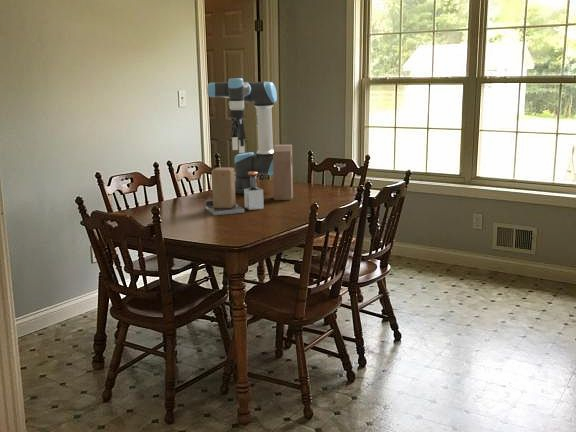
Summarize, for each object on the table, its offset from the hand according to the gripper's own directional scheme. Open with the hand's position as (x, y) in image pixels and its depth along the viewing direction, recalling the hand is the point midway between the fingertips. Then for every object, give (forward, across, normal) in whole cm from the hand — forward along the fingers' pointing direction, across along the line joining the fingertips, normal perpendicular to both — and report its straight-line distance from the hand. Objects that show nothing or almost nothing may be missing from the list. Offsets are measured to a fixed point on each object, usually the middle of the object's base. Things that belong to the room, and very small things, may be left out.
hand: (238, 151), depth 327 cm
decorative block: (+31, -18, +30) cm, 47 cm away
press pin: (+22, 0, +7) cm, 24 cm away
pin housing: (+30, 0, +7) cm, 31 cm away
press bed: (+30, 0, -9) cm, 32 cm away
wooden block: (+28, 0, -9) cm, 30 cm away
